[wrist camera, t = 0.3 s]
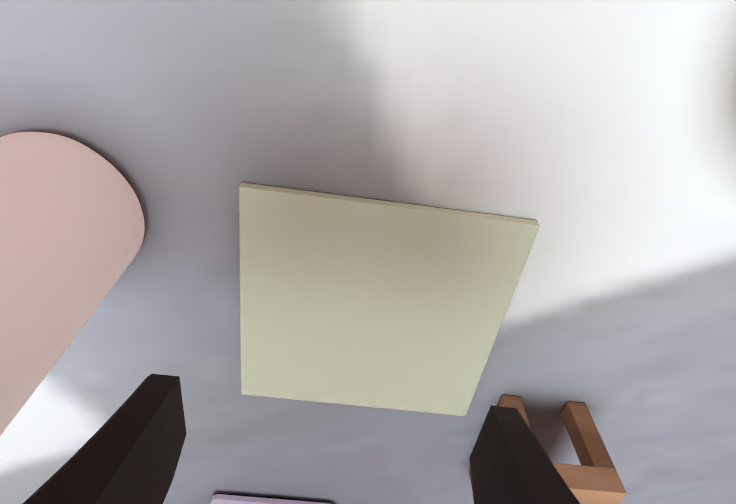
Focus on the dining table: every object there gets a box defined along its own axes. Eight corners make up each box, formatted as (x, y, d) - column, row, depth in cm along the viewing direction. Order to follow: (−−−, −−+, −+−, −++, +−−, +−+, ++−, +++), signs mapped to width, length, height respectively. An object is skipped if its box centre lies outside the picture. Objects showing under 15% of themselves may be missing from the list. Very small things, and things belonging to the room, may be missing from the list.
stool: (541, 477, 29) (569, 566, 25) (468, 470, 29) (485, 559, 25) (585, 403, 26) (626, 493, 21) (502, 394, 25) (528, 484, 21)
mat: (464, 409, 26) (465, 415, 26) (242, 388, 25) (241, 394, 25) (536, 220, 19) (539, 225, 19) (241, 182, 19) (239, 186, 18)
